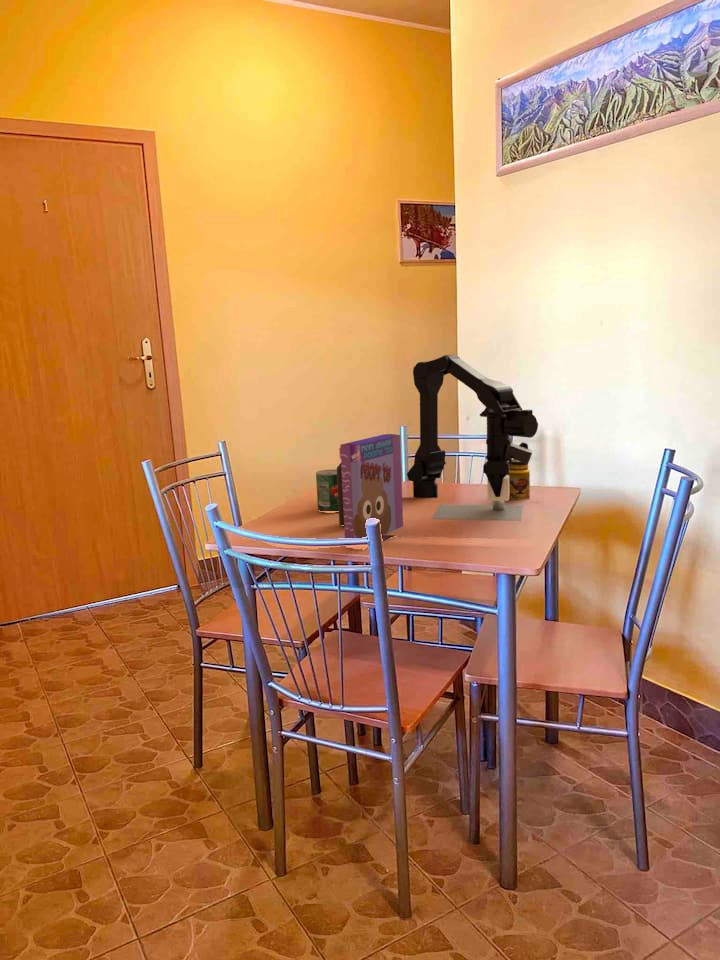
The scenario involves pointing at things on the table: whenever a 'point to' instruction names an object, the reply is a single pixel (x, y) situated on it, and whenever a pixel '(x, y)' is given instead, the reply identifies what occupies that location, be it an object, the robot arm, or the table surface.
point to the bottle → (340, 493)
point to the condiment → (519, 480)
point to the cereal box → (372, 484)
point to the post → (498, 505)
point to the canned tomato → (327, 490)
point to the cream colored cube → (504, 491)
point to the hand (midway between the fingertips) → (498, 494)
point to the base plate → (478, 512)
